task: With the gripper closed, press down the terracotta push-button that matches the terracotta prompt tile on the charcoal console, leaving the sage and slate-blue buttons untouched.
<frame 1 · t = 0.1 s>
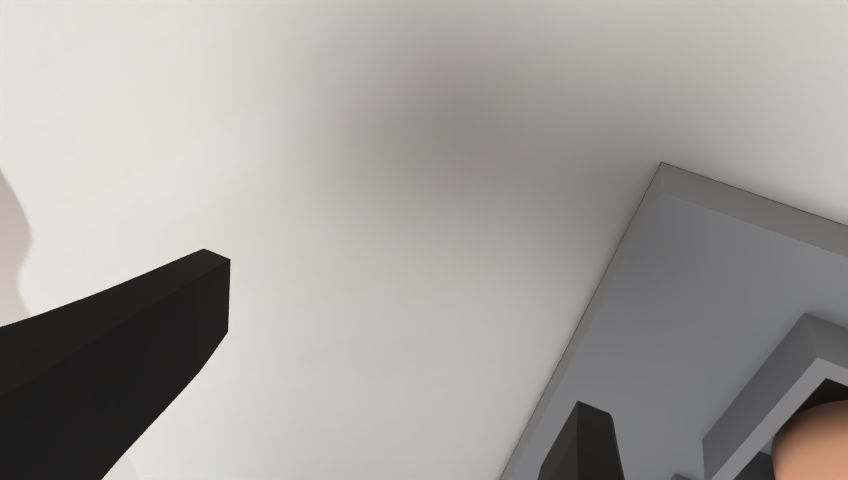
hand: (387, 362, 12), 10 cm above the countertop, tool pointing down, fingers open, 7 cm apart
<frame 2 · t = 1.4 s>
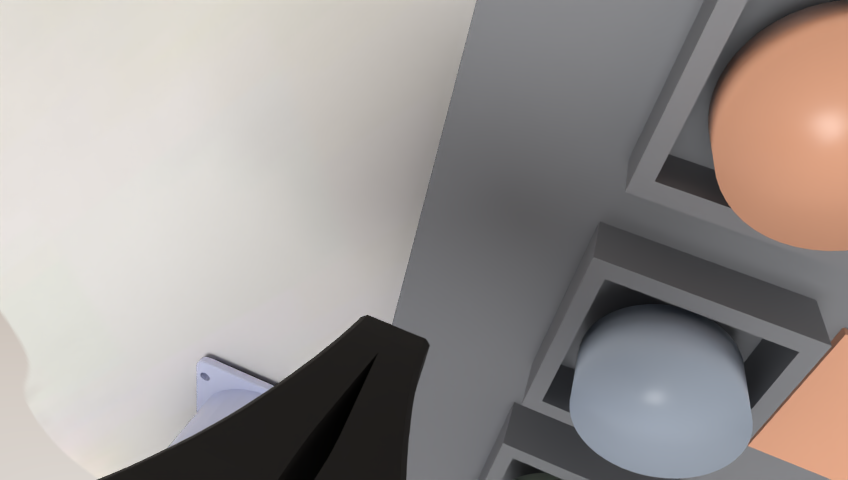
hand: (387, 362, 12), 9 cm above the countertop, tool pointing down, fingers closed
button slate: (656, 391, 17), point 4 cm above the countertop, slide at 0.0 cm
console: (658, 297, 20), on the countertop
button terracotta: (834, 128, 12), point 4 cm above the countertop, slide at 0.0 cm
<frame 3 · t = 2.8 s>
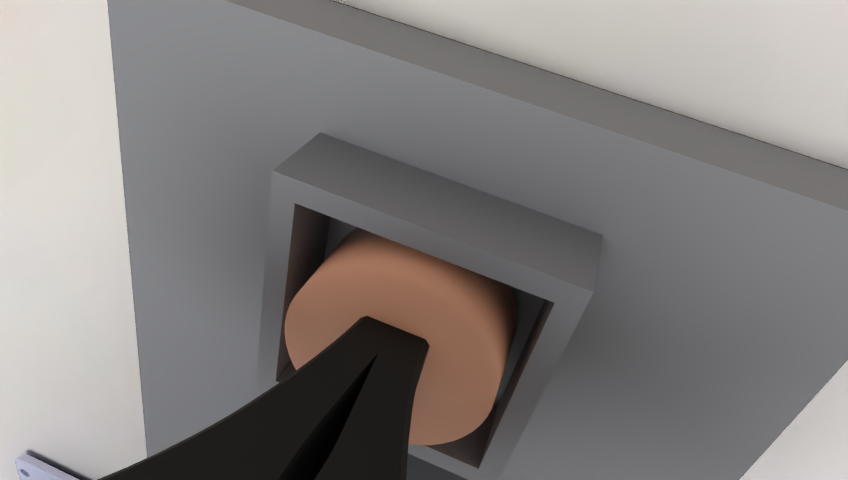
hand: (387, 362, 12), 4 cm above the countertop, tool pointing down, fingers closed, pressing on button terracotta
console: (392, 437, 20), on the countertop
button terracotta: (403, 332, 13), point 3 cm above the countertop, slide at 1.0 cm, touching gripper
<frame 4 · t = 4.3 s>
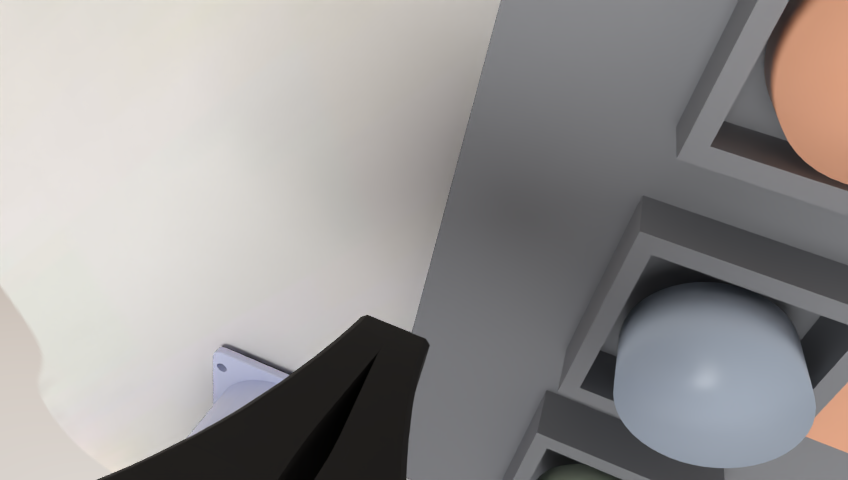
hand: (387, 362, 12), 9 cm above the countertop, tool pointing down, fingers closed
button slate: (706, 375, 16), point 4 cm above the countertop, slide at 0.0 cm
console: (700, 278, 19), on the countertop
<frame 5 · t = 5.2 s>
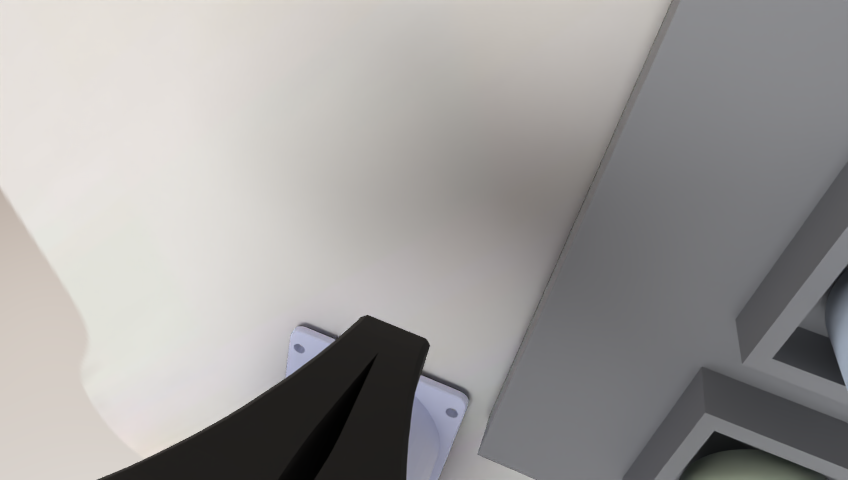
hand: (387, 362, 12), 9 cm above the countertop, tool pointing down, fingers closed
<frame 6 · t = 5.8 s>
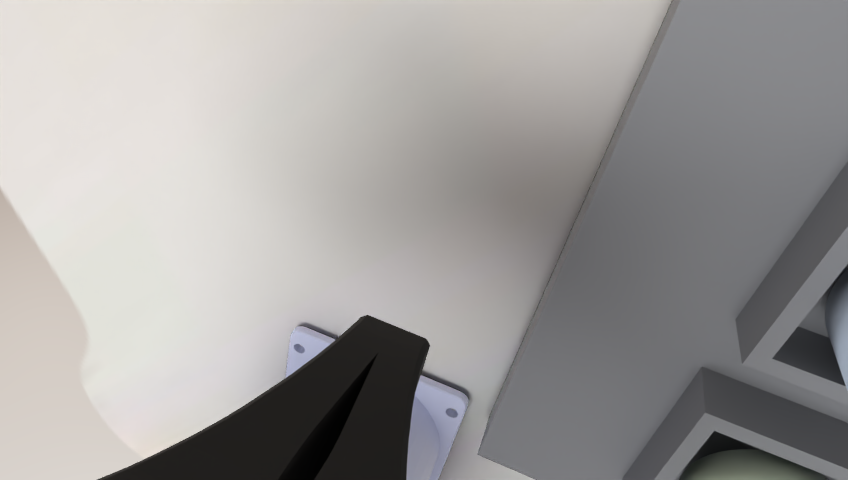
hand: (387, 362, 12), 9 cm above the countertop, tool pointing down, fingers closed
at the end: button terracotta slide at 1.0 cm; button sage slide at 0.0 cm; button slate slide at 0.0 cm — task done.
